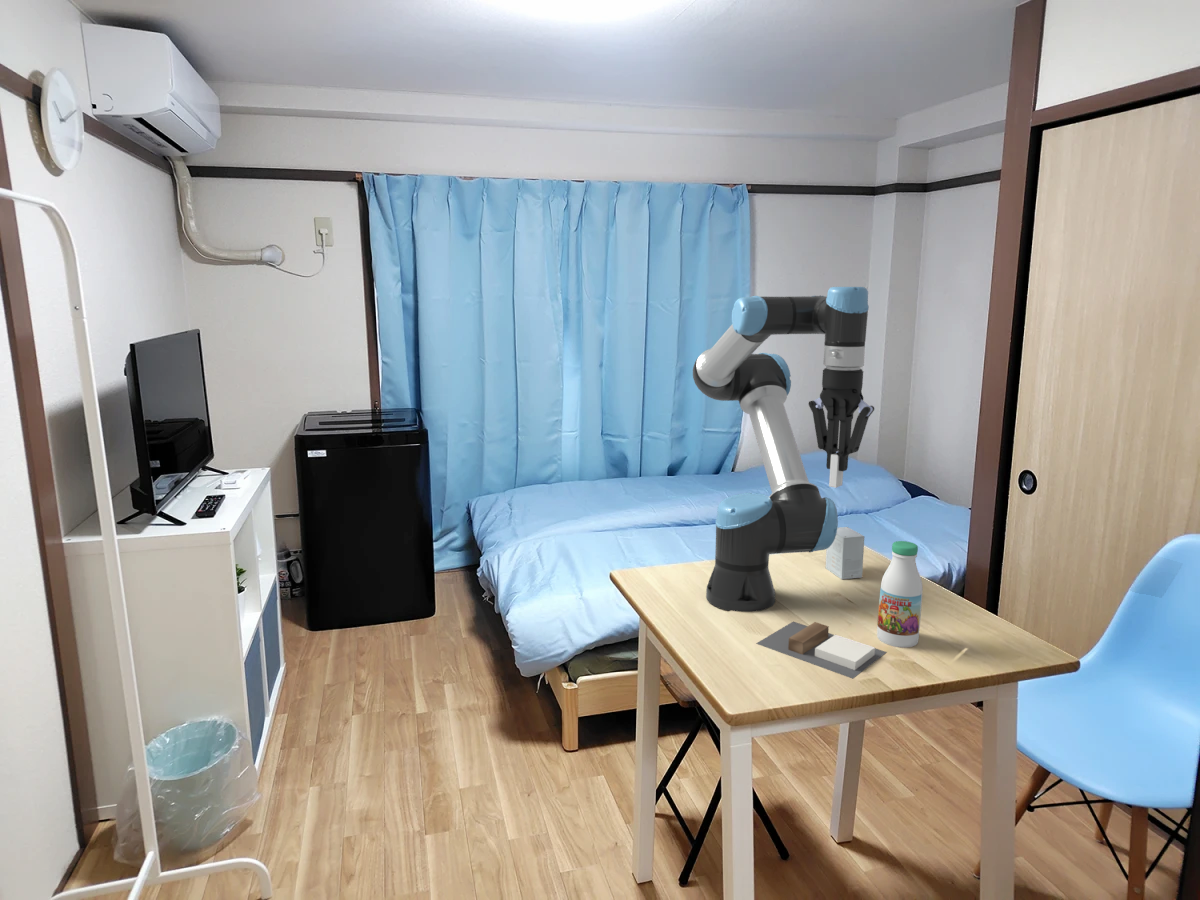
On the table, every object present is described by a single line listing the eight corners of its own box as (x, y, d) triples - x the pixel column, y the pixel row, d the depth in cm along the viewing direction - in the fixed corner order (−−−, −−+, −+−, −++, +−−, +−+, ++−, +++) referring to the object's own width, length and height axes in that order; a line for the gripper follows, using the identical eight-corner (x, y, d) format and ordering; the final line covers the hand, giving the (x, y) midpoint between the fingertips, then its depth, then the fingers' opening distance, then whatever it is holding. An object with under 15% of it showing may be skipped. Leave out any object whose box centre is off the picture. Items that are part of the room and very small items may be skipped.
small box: (862, 578, 186) (865, 536, 184) (841, 580, 185) (843, 537, 183) (845, 566, 194) (848, 526, 192) (824, 568, 193) (827, 527, 191)
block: (788, 649, 149) (788, 637, 148) (814, 633, 156) (814, 621, 156) (802, 654, 147) (803, 642, 146) (828, 637, 154) (828, 626, 153)
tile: (815, 648, 146) (855, 662, 141) (835, 634, 152) (875, 647, 146) (814, 656, 146) (854, 670, 141) (834, 642, 152) (874, 655, 146)
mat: (756, 645, 152) (756, 643, 152) (793, 623, 162) (793, 621, 161) (852, 680, 138) (852, 678, 138) (886, 654, 148) (886, 652, 148)
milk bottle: (877, 629, 159) (884, 535, 154) (918, 635, 156) (927, 540, 151) (875, 645, 152) (882, 547, 147) (917, 652, 149) (926, 552, 144)
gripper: (803, 366, 152) (796, 483, 157) (866, 371, 144) (857, 495, 148) (821, 364, 158) (815, 477, 163) (884, 368, 149) (875, 488, 154)
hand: (835, 485), depth 156 cm, fingers closed
